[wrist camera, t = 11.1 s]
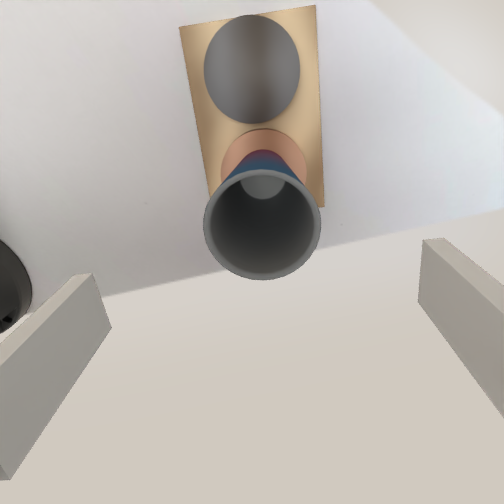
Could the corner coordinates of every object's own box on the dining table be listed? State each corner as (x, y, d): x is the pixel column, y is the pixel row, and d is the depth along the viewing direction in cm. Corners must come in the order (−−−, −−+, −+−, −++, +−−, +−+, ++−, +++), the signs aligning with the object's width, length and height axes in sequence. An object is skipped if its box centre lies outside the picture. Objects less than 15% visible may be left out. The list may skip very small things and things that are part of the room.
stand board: (215, 216, 39) (211, 225, 36) (181, 29, 31) (173, 22, 29) (322, 204, 38) (327, 212, 35) (313, 7, 30) (318, -2, 28)
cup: (229, 209, 35) (207, 281, 21) (225, 140, 32) (197, 170, 19) (296, 208, 35) (318, 280, 21) (298, 138, 32) (324, 167, 18)
